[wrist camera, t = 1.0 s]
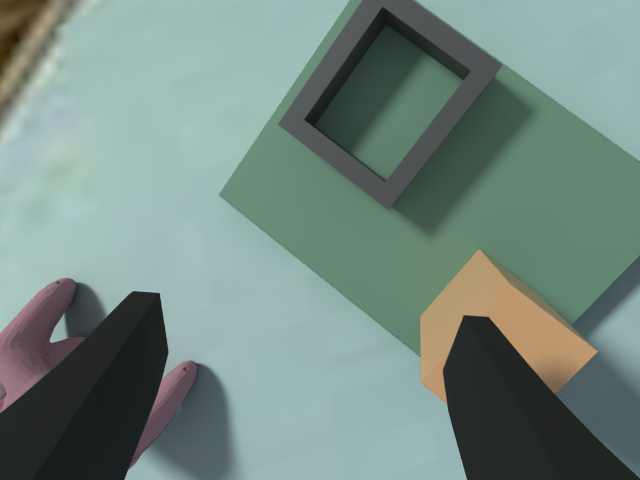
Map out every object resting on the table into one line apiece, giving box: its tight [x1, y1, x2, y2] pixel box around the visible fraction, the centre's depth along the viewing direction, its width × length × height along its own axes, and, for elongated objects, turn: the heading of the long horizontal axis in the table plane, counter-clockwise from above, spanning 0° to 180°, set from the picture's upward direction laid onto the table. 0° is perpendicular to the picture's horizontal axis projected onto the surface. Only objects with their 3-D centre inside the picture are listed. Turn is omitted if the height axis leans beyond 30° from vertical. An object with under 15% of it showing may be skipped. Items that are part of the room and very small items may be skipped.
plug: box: [420, 249, 598, 404], centre depth 17 cm, size 3×4×7 cm
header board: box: [219, 0, 640, 357], centre depth 20 cm, size 16×12×3 cm
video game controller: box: [0, 278, 197, 470], centre depth 24 cm, size 10×5×7 cm, turn 61°
